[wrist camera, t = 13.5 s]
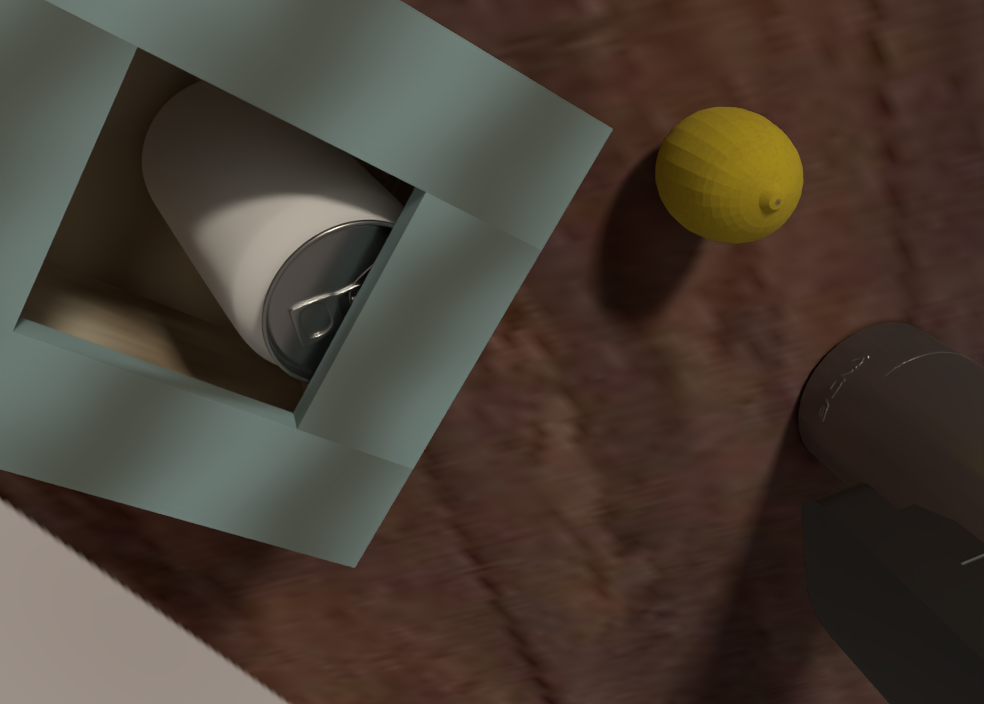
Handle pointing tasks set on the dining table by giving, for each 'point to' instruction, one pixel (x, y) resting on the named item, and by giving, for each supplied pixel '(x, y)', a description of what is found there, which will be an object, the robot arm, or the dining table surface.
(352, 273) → the can
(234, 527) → the drop box
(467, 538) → the dining table surface
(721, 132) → the lemon
